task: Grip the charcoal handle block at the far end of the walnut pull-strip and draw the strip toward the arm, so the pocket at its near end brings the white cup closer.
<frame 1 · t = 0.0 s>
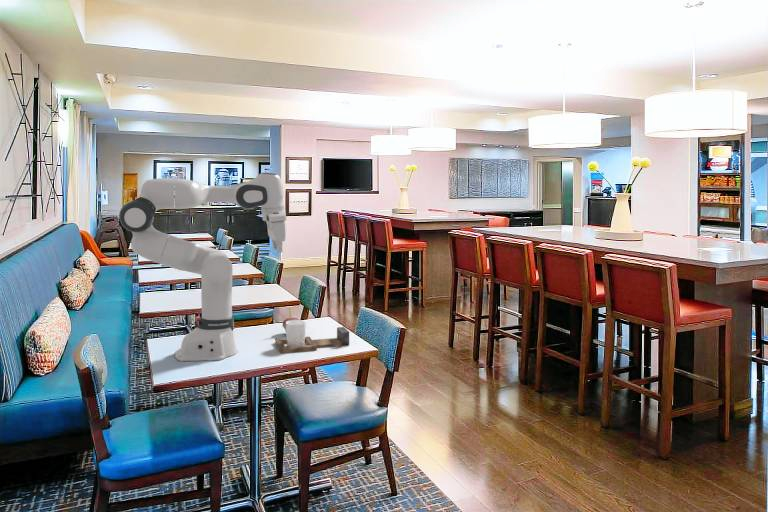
hand: (277, 250, 223), 39 cm above the table, tool pointing down, fingers open, 8 cm apart
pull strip: (313, 338, 233), point 3 cm above the table, slide at 0.0 cm
white cup: (295, 347, 231), resting in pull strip
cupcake: (292, 334, 248), on the table
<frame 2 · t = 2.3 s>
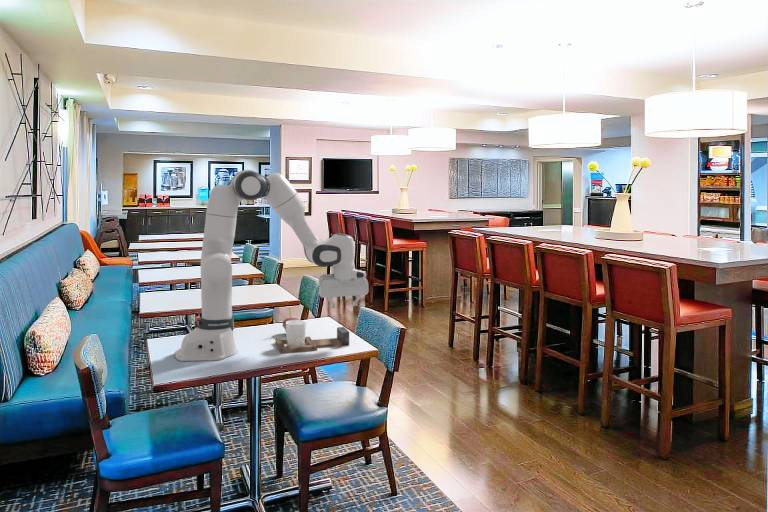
hand: (343, 306, 235), 15 cm above the table, tool pointing down, fingers open, 8 cm apart
nothing on the table moved.
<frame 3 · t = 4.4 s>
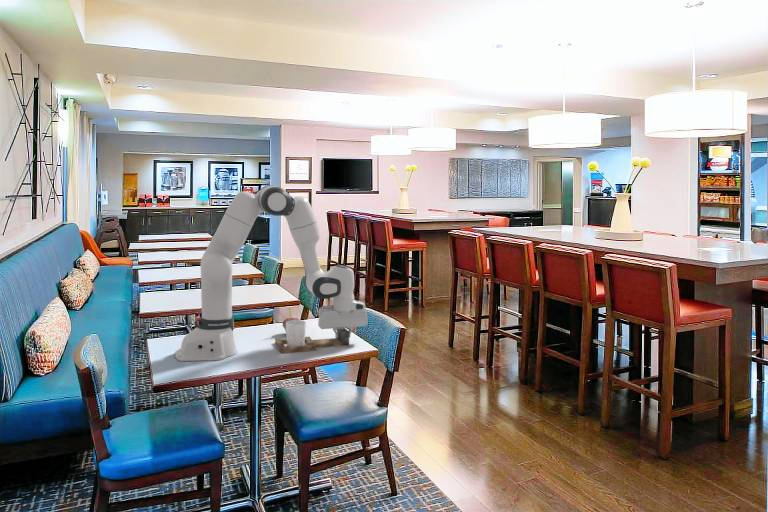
hand: (342, 337, 237), 2 cm above the table, tool pointing down, fingers closed on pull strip, 3 cm apart
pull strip: (312, 338, 233), point 3 cm above the table, slide at 0.0 cm, touching gripper
everything else where it was.
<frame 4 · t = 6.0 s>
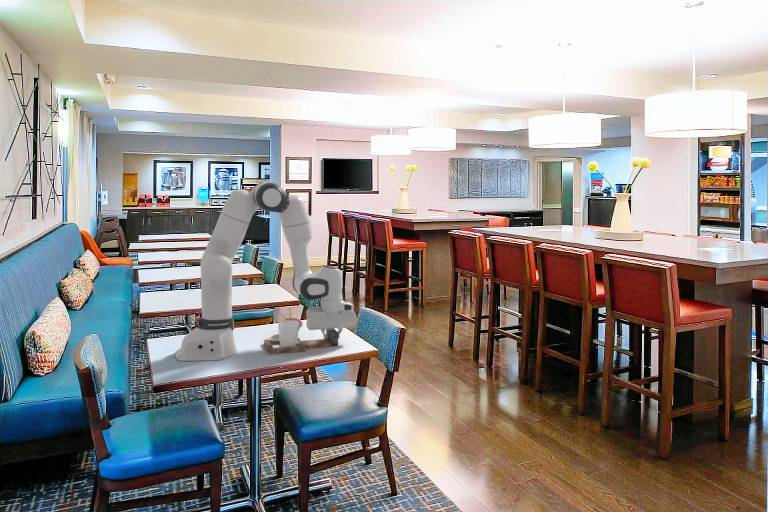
hand: (331, 338, 235), 2 cm above the table, tool pointing down, fingers open, 3 cm apart
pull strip: (301, 339, 231), point 3 cm above the table, slide at 4.6 cm, touching white cup, gripper
white cup: (288, 347, 230), resting in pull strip
everything else where it was.
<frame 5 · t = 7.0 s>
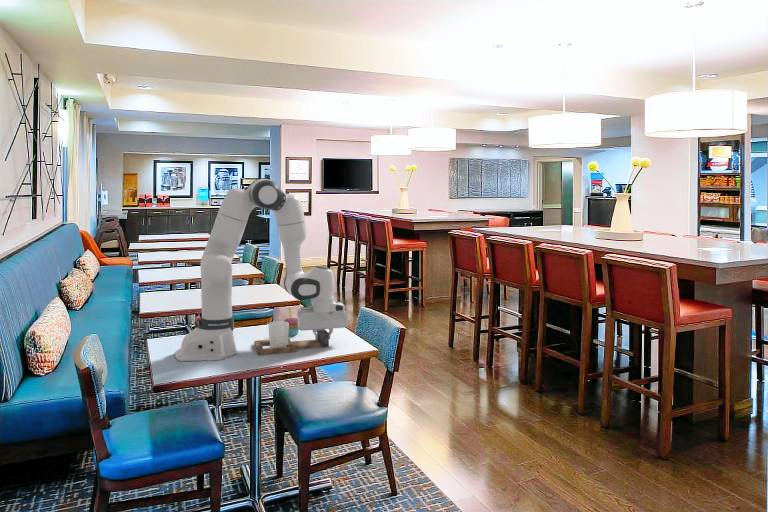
hand: (322, 339, 234), 2 cm above the table, tool pointing down, fingers closed on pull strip, 3 cm apart
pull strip: (292, 340, 230), point 3 cm above the table, slide at 8.5 cm, touching white cup, gripper
white cup: (278, 348, 228), resting in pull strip
everything else where it was.
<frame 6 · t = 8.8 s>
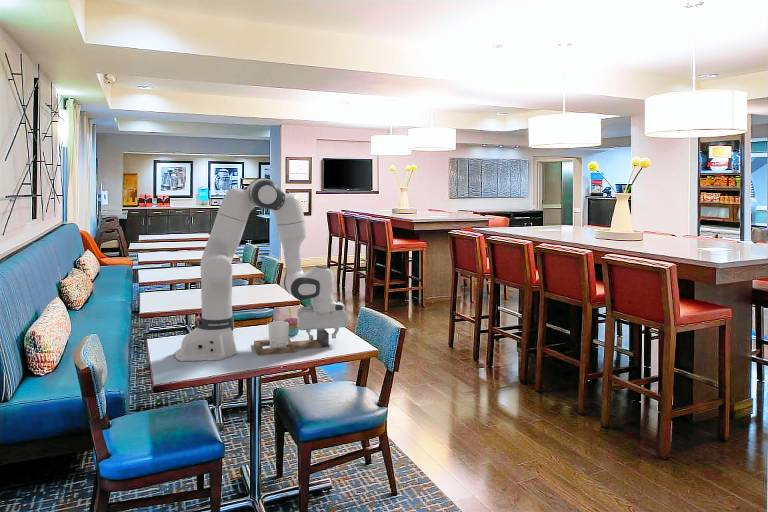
hand: (322, 339, 234), 2 cm above the table, tool pointing down, fingers open, 8 cm apart
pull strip: (292, 340, 230), point 3 cm above the table, slide at 8.5 cm
white cup: (278, 348, 228), resting in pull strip
everything else where it was.
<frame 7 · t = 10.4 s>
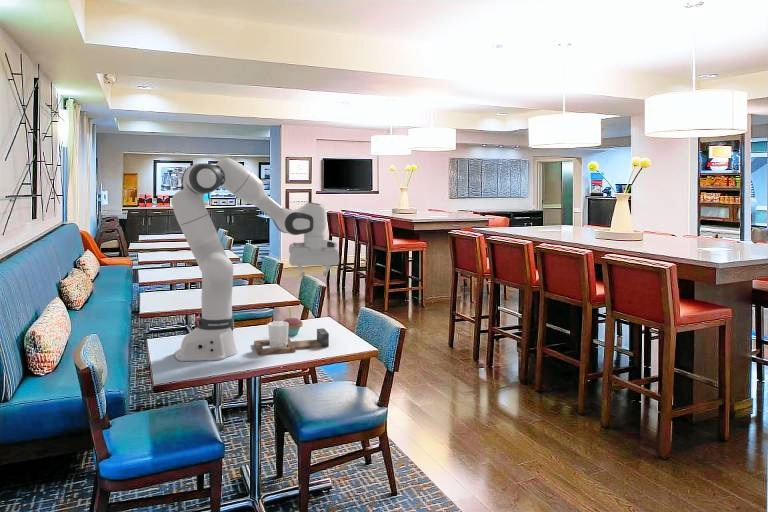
hand: (313, 276, 236), 27 cm above the table, tool pointing down, fingers open, 8 cm apart
nothing on the table moved.
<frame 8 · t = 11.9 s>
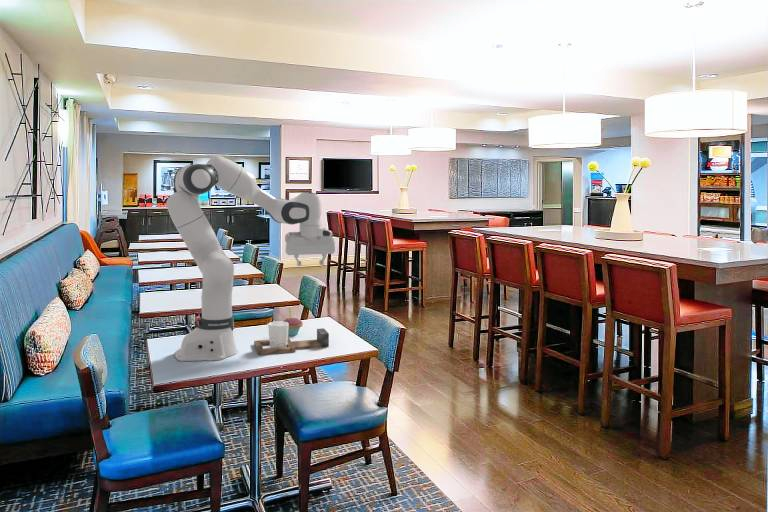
hand: (310, 265, 238), 31 cm above the table, tool pointing down, fingers open, 8 cm apart
nothing on the table moved.
at the end: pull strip slide at 8.5 cm; white cup inside the target area (1.1 cm from its centre), resting in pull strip; white cup tilted 0° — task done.
